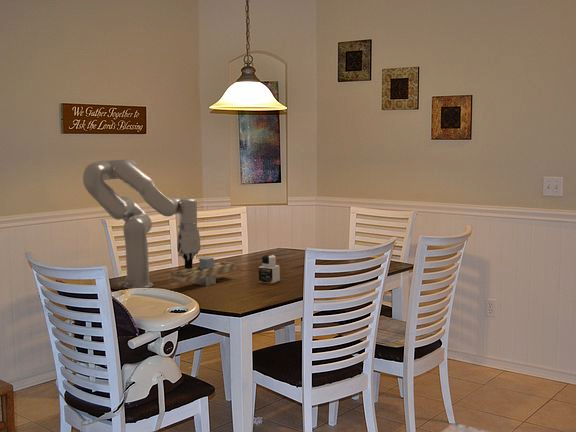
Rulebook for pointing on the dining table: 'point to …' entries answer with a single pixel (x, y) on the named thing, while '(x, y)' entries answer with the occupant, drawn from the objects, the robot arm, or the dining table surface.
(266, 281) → the medicine bottle
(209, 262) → the block
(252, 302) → the dining table surface
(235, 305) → the dining table surface
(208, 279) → the fulcrum
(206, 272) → the beam
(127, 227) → the robot arm
